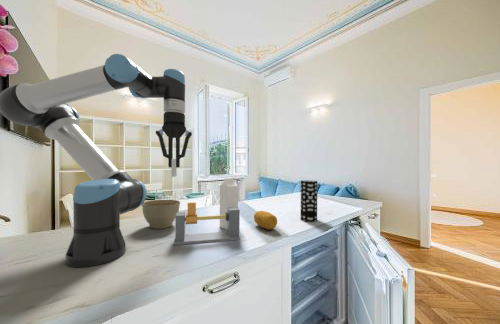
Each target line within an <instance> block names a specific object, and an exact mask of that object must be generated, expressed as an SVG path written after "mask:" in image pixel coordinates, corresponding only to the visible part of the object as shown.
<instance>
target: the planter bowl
mask: <svg viewBox="0 0 500 324" xmlns="http://www.w3.org/2000/svg"><path fill="white" fill-rule="evenodd" d="M141 206H142V214H143V217H144V219H145V221H146V222H147V223H148V225H149V228H151V229H166V228H170V227H171V226H173V222H174V221H176V214H177V212H180V206H181V201H180V200H175V199H155V200H153V199H152V200H148V201H144V203H143V204H142V205H141Z"/></svg>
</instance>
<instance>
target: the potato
mask: <svg viewBox="0 0 500 324" xmlns="http://www.w3.org/2000/svg"><path fill="white" fill-rule="evenodd" d="M253 219H254V222H255V223H256V225H257V226H258V227H261V228H263V229H265V230H268V231H269V230H271V231H272V230H274V228H276V227H277V225H278V218H277V217H276V215H274V214H273V213H271V212H268V211H265V210H259V211H255V213H254V215H253Z"/></svg>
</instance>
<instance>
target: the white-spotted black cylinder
mask: <svg viewBox="0 0 500 324" xmlns="http://www.w3.org/2000/svg"><path fill="white" fill-rule="evenodd" d="M300 220H301V221H303V222H305V223H316V222H317V221H318V181H317V180H301V181H300Z"/></svg>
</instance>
